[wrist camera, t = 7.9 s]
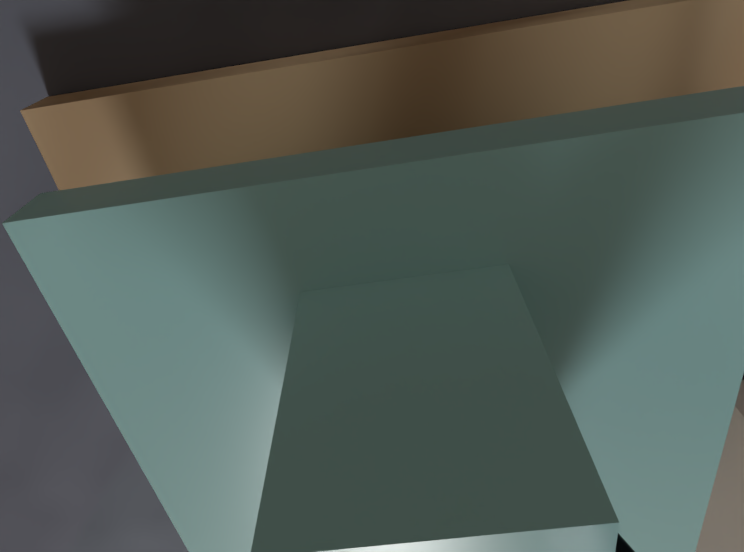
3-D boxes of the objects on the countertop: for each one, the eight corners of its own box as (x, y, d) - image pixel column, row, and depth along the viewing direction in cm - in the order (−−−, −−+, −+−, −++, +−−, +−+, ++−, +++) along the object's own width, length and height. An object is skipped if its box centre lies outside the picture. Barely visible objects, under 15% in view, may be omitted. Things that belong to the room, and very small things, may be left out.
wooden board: (729, -17, 10) (763, -12, 9) (652, 438, 16) (668, 466, 15) (46, 96, 11) (20, 110, 10) (224, 485, 17) (217, 513, 16)
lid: (724, 67, 8) (1303, 279, 3) (648, 499, 14) (813, 833, 9) (70, 169, 9) (-315, 470, 4) (244, 539, 14) (176, 867, 9)
